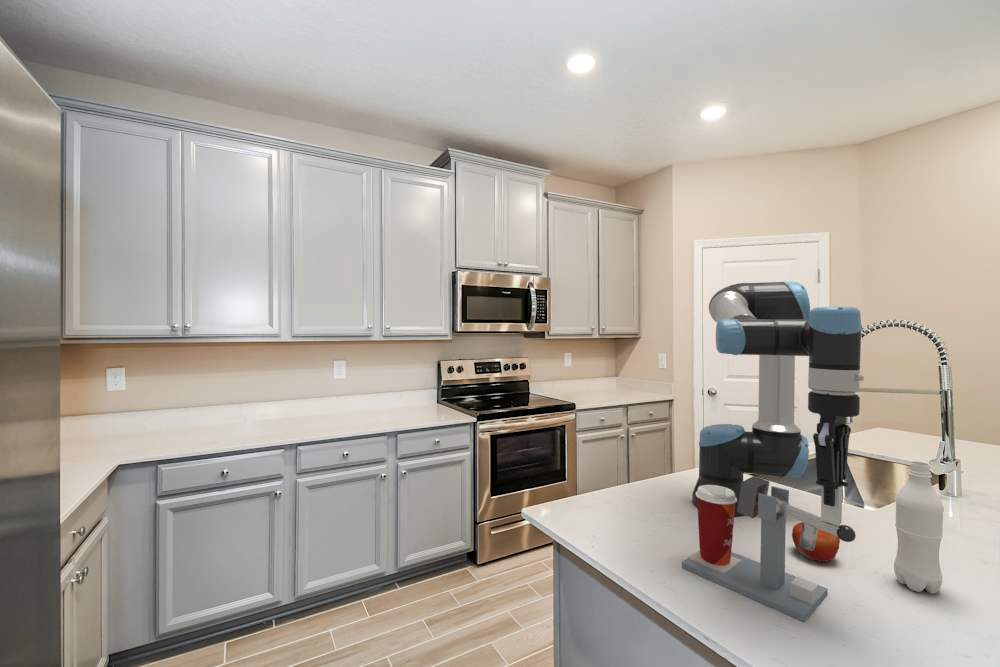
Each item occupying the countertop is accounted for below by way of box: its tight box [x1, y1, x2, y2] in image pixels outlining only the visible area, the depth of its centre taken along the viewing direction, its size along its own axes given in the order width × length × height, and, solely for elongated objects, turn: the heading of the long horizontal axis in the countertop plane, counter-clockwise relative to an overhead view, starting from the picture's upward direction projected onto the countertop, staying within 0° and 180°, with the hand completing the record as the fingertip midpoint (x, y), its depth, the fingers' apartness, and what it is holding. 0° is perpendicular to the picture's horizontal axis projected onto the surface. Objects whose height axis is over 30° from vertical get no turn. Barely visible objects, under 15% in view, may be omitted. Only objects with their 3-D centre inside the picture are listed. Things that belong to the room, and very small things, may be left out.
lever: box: [737, 475, 857, 550], centre depth 87 cm, size 18×6×9 cm, turn 39°
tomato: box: [791, 521, 841, 562], centre depth 103 cm, size 9×9×8 cm
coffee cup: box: [695, 485, 737, 565], centre depth 99 cm, size 8×8×15 cm
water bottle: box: [893, 460, 945, 595], centre depth 91 cm, size 7×7×25 cm
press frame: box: [681, 485, 829, 623], centre depth 93 cm, size 23×13×20 cm, turn 39°
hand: (831, 521), depth 82 cm, fingers closed
